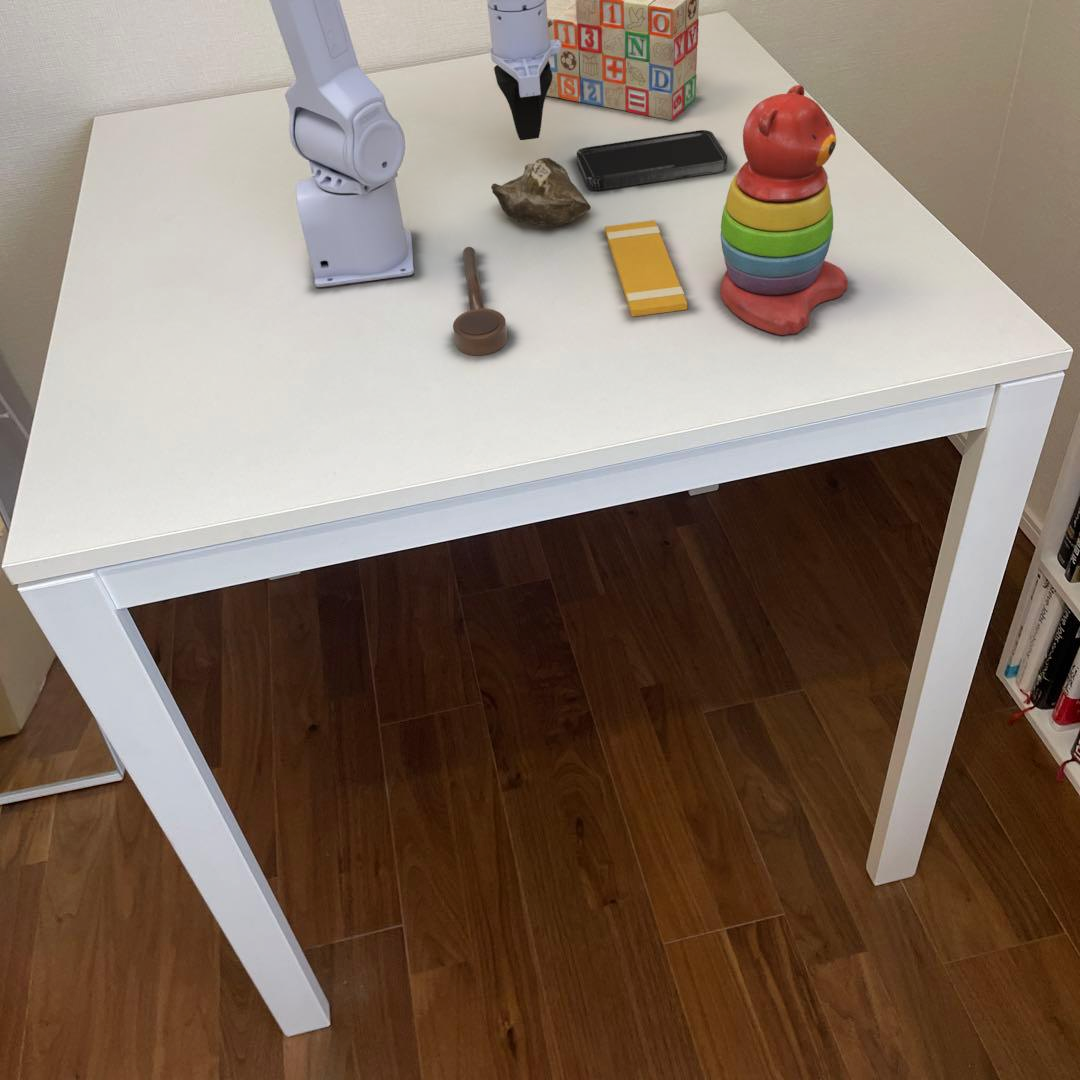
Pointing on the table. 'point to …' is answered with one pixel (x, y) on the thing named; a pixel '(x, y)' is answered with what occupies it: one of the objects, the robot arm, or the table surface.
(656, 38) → the stack of blocks
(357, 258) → the robot arm
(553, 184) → the fossilized seashell
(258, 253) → the table surface
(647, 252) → the towel
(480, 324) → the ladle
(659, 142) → the phone
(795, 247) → the stacking bear
